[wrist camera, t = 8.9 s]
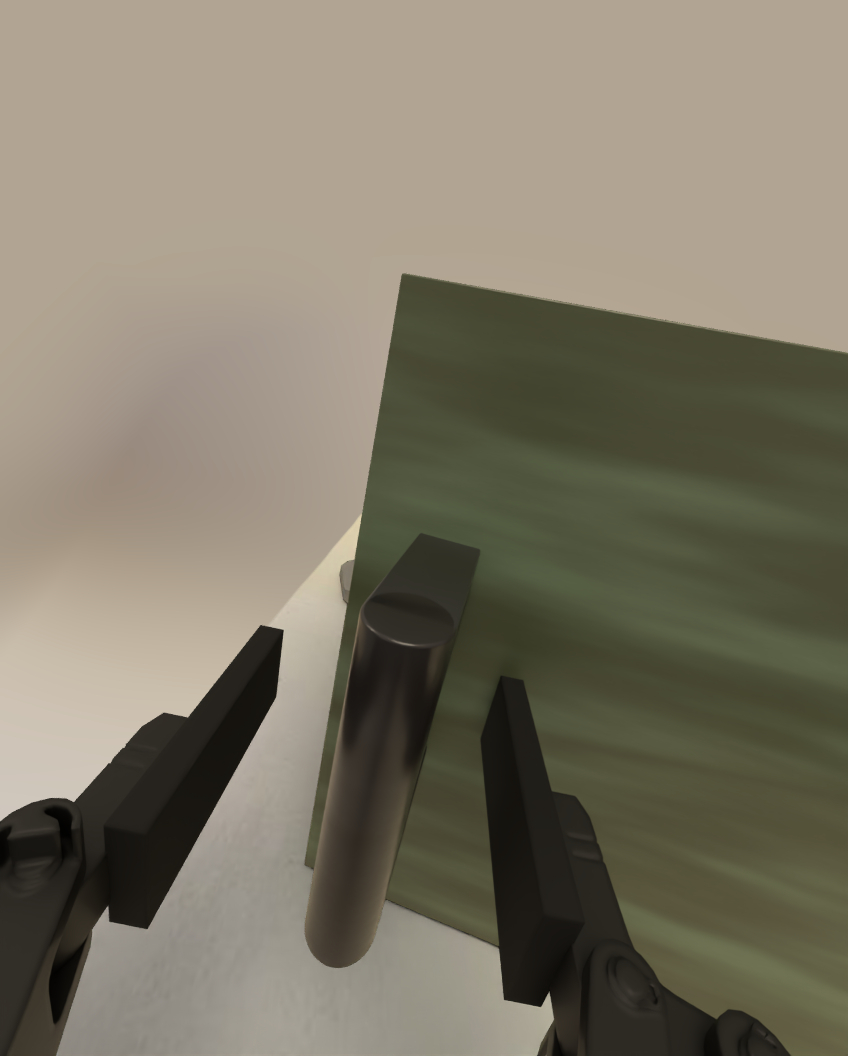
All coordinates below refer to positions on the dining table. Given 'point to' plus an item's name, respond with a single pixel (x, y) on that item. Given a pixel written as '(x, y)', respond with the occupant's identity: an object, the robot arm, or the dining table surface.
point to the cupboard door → (604, 639)
